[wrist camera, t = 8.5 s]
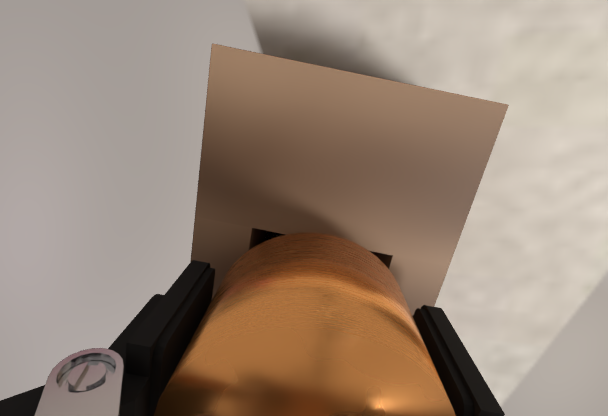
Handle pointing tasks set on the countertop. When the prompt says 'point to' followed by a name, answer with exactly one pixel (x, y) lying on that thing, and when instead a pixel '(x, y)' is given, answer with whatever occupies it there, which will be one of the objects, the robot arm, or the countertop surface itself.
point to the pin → (306, 339)
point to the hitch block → (338, 164)
